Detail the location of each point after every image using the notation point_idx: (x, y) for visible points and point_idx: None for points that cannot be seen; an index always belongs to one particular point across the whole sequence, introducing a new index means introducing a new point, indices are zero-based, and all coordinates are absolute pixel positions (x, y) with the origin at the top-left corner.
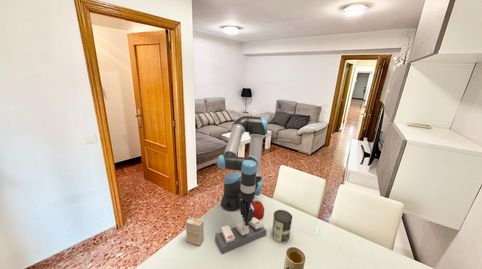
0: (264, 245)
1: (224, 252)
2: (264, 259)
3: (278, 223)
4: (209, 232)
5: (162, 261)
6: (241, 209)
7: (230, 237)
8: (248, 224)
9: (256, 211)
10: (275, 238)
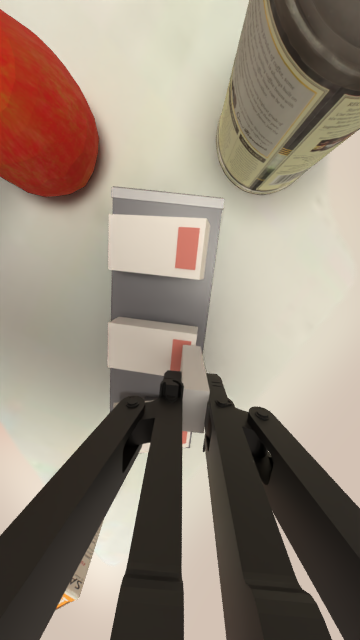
0: (255, 265)
1: None
2: (304, 313)
3: None
4: (73, 418)
5: (121, 549)
6: (111, 503)
7: (182, 431)
8: (221, 381)
9: (56, 148)
10: (274, 188)
